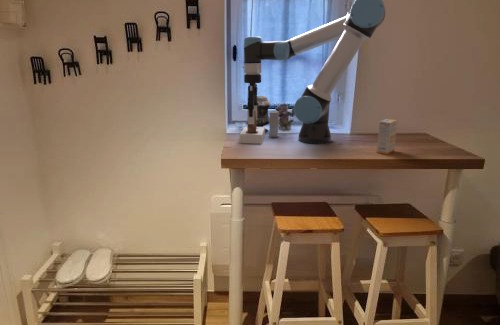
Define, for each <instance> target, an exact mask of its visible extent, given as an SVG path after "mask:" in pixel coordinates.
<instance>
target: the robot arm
mask: <svg viewBox="0 0 500 325" xmlns="http://www.w3.org/2000/svg"><path fill="white" fill-rule="evenodd" d="M385 17H386V8H385V4H384V1H383V0H354V2H353V3H352V4H351V7H350V10H349V11H347V14H346V15H345V16H343V17H340V18H337V19H335V20H333V21H330V22H329V23H326V24H323V25H321V26H319V27H316V28H314V29H311V30H309V31H306V32H305V33H302V34H299V35H297V36H294V37H292V38H290V39H287V40H274V41H263V40H262V37H261V36H246V37H245V38H244V40H243V42H244V43H243V59H244V60H243V61H244V62H243V63H244V65H243V66H242V68H243V69H244V70H243V71H244V72H243V73H244V76H243V81H244V84H248V87H247V105H246V108H245V109H246V110H247V119H248V121H247V125H248V124H254V110H256V111H257V106H256V105H259V103H258V102H257V96H258V85H257V84H260V83H261V82H262V61H264V60H268V61H274V60H275V61H287V60H290V59H291V58H293V57H295V56H297V55H300V54H302V53H305V52H308V51H310V50H313V49H315V48H316V49H317V48H318V47H321V46H323V45H326V44H328V43H331V42H334V41H336V40H338V41H337V42H336V44H335V46H334V47H333V49H332V50H331V52H330V55H329V56H328V57H327V59H326V60H325V63H324V64H323V66H322V68H321V69H320V71H319V73H318V75H317V76H316V78H315V79H314V81H313V83H312V84H309V85H306V87H305V89H304V91H303V93H302V94H301V96H300V97H299V98H297V100H296V101H295V103H294V105H293V106H294V107H293V112H294V116H295V117H296V119H297V120H298V121H299V122H301V123H302V125H301V128H300V130H299V133H298V137H297V139H298V141H300V142H301V143H308V144H327V143H330V142H331V141H332V135H331V130H330V127H329V120H330V119H329V118H330V107H331V106H330V105H331V104H330V103H331V101H332V96H331V94H332V93H333V91H335V88H336V87H337V85H338V84H339V82H340V80H341V79H342V77H343V76H344V74H345V72H346V70H347V69H348V68H349V66H350V64H351V63H352V61H353V59H354V58H355V56H356V54H357V53H358V51H359V49H360V48H361V46H362V44H363V43H364V42H365V41H367V40H370V39H371V37H372V36H373V34H374V33H375V31H376V29H377V28H379V27H380V26H381V25H382V23H383V22H384V20H385ZM256 120H257V112H256Z"/></svg>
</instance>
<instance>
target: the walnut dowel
mask: <svg viewBox="0 0 500 325" xmlns="http://www.w3.org/2000/svg"><path fill="white" fill-rule="evenodd" d="M256 112H257V111H256V110H254V124H248V123H247V126H248V133H250V134H256Z"/></svg>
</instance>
